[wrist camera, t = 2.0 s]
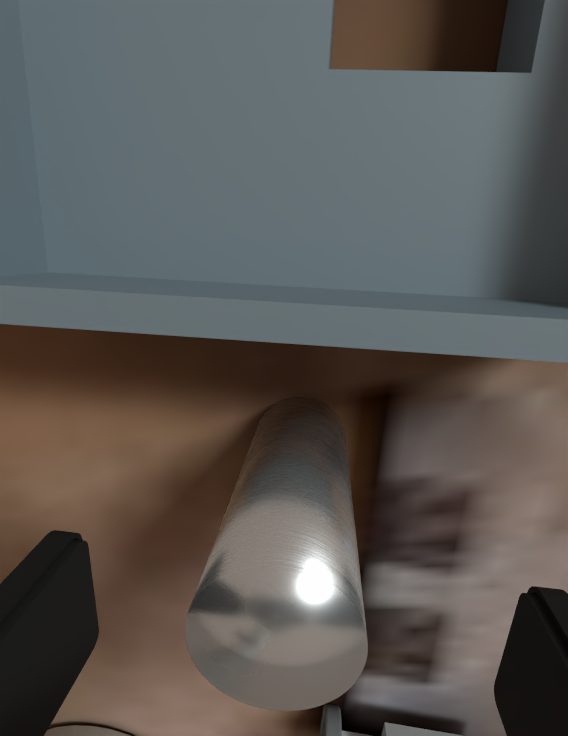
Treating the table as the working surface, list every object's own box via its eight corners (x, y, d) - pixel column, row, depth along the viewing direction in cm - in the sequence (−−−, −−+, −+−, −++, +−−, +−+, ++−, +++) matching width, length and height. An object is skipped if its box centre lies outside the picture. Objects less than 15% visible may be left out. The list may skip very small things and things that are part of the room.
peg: (341, 482, 19) (358, 721, 9) (254, 474, 19) (186, 698, 10) (349, 401, 18) (377, 578, 8) (257, 394, 18) (182, 557, 9)
